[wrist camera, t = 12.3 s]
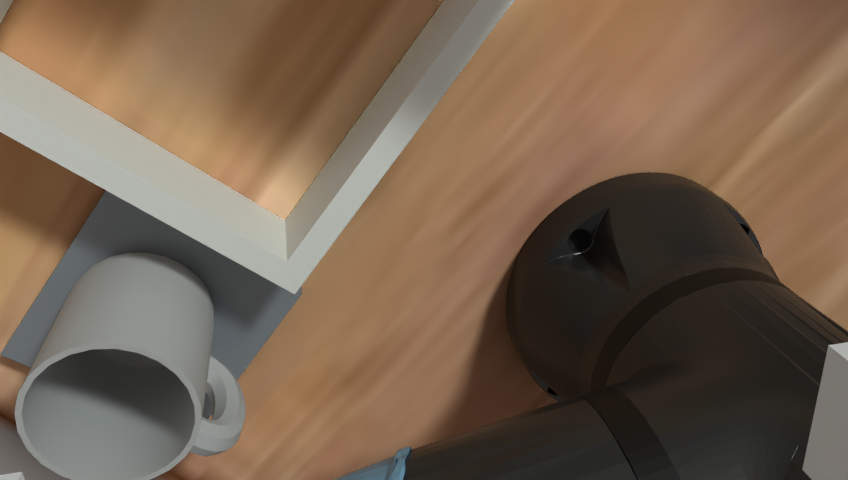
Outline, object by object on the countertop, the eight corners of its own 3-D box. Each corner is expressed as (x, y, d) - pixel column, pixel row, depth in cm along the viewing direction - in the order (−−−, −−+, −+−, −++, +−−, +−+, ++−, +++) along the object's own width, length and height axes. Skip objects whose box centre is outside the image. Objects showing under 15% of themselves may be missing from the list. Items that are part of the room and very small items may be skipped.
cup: (122, 220, 36) (81, 310, 29) (285, 325, 41) (289, 429, 33) (39, 324, 38) (-23, 437, 30) (205, 415, 42) (190, 536, 34)
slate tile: (194, 427, 43) (193, 438, 42) (6, 344, 39) (0, 354, 38) (301, 284, 41) (302, 293, 40) (112, 179, 37) (108, 186, 36)
